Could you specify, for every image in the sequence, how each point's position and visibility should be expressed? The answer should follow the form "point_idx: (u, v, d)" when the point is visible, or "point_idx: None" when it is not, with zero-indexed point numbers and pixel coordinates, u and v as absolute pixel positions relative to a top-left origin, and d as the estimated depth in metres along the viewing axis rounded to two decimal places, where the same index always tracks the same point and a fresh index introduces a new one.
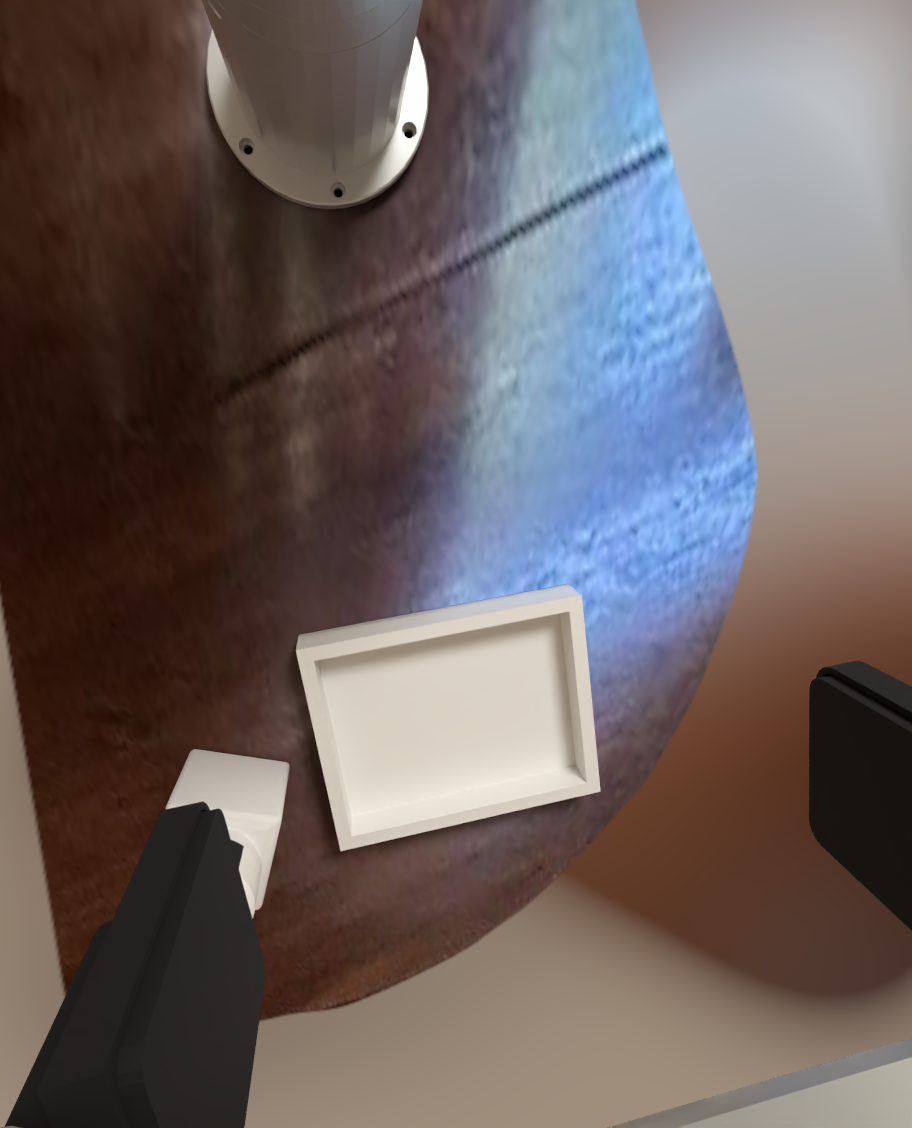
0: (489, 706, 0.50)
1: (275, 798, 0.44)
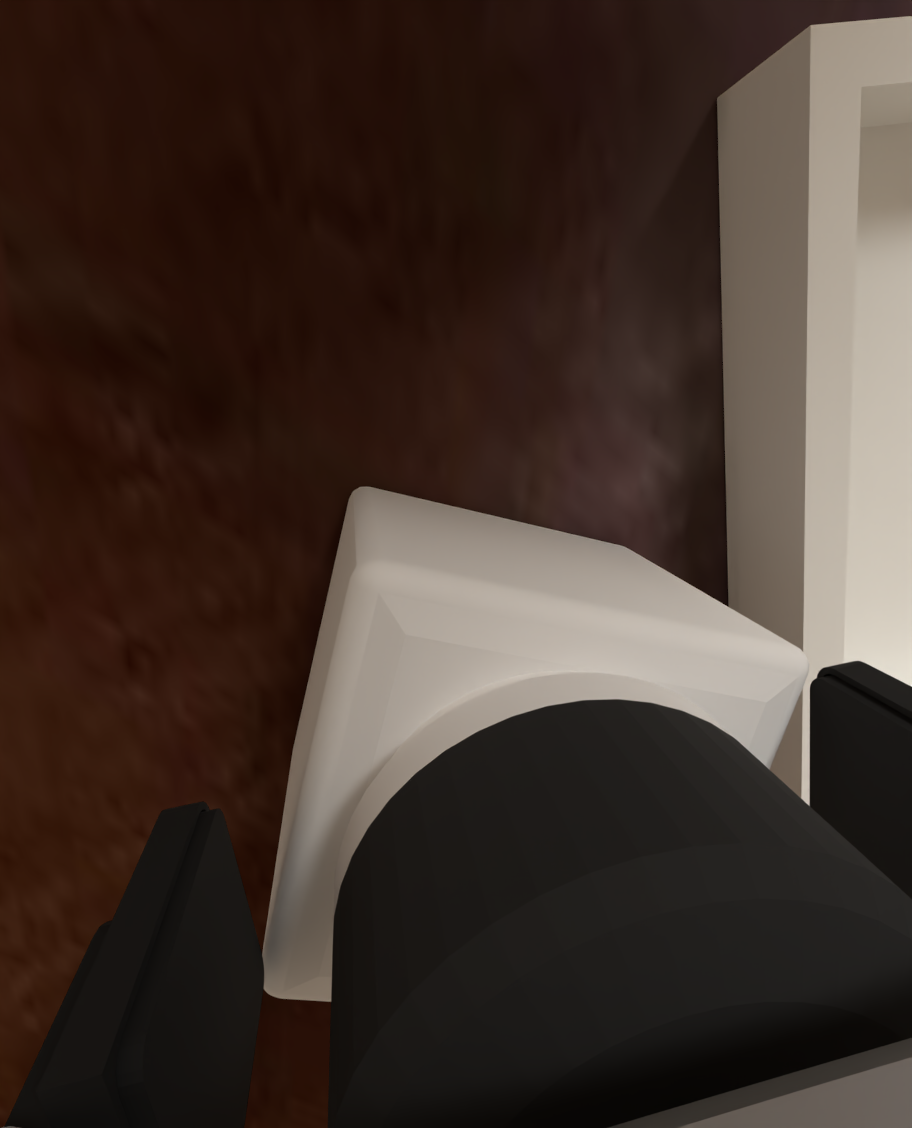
0: None
1: (713, 602, 0.12)
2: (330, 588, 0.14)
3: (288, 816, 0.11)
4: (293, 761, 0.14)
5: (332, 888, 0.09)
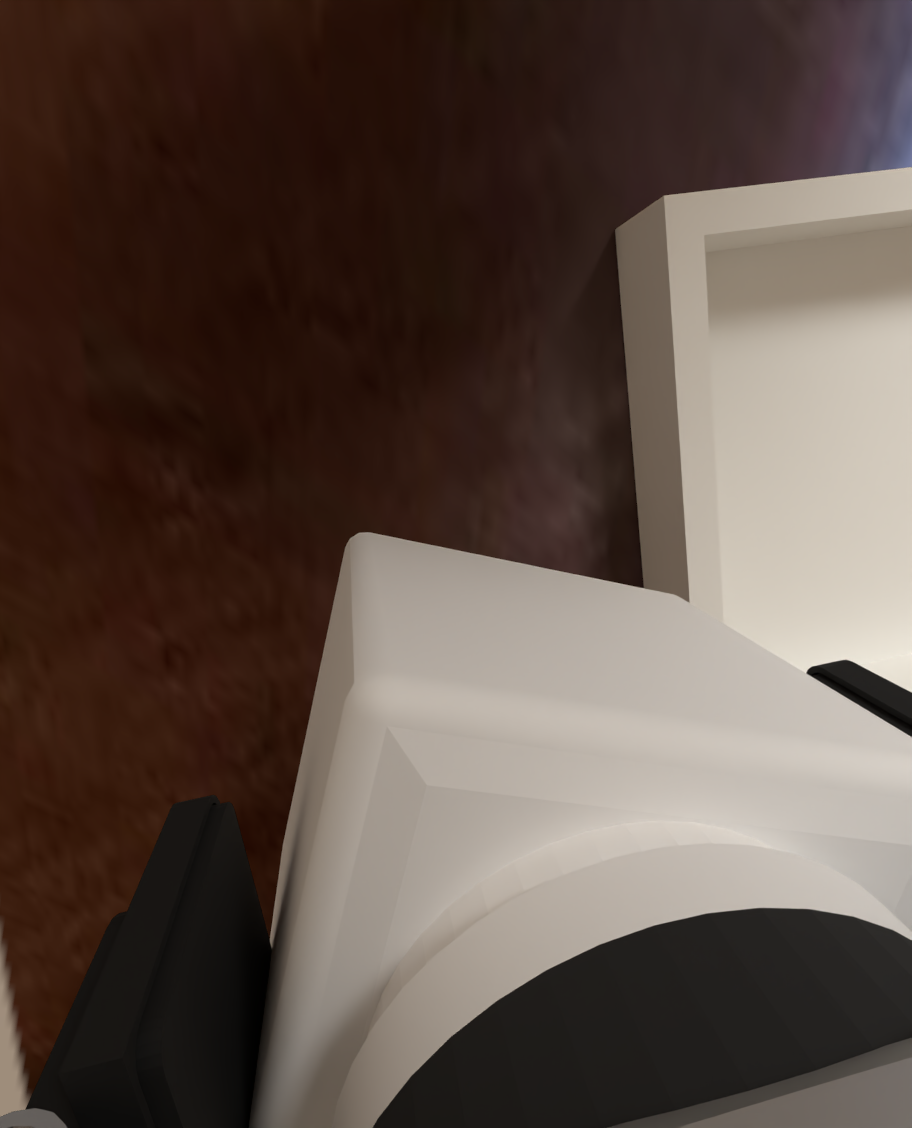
0: None
1: (816, 686, 0.09)
2: (324, 659, 0.12)
3: (271, 979, 0.09)
4: (281, 873, 0.12)
5: (327, 1124, 0.07)
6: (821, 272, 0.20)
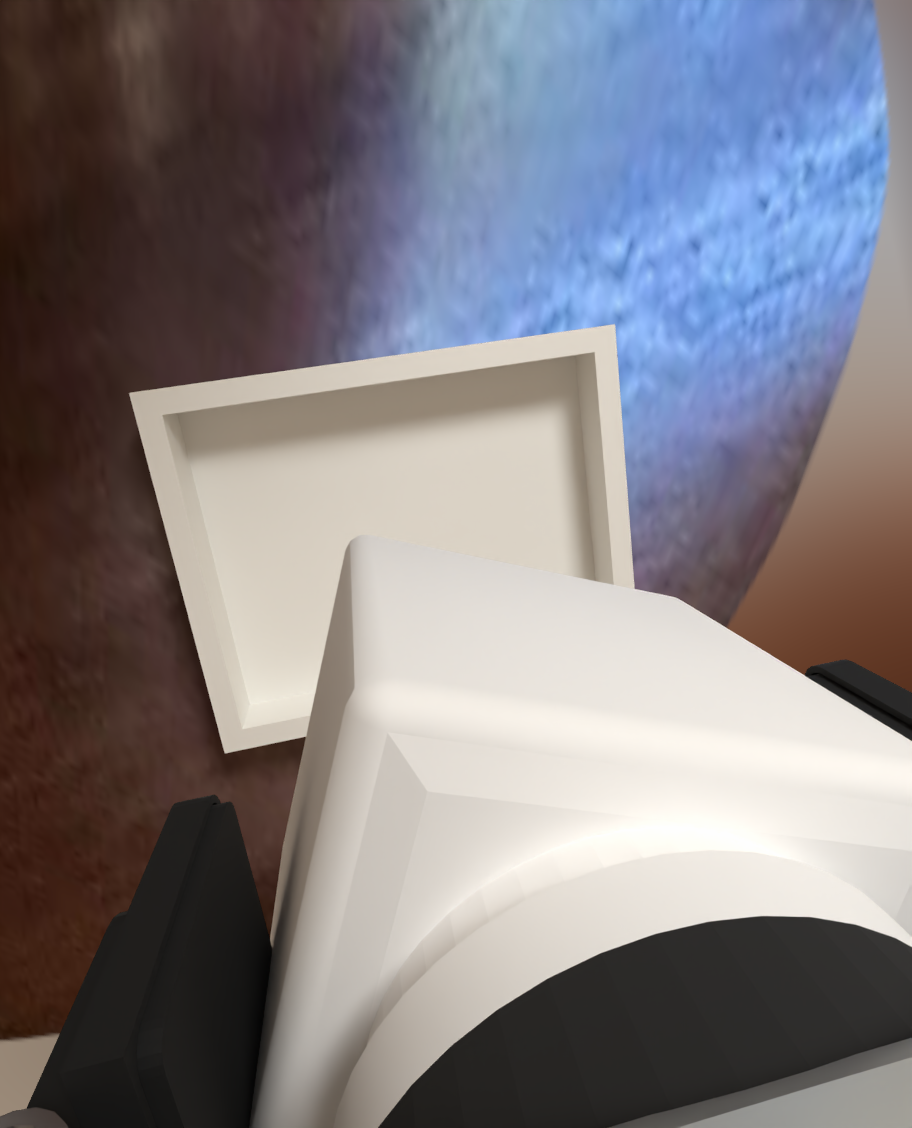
0: (466, 530, 0.32)
1: (817, 691, 0.09)
2: (324, 662, 0.12)
3: (270, 984, 0.09)
4: (281, 876, 0.12)
5: None
6: (302, 418, 0.29)
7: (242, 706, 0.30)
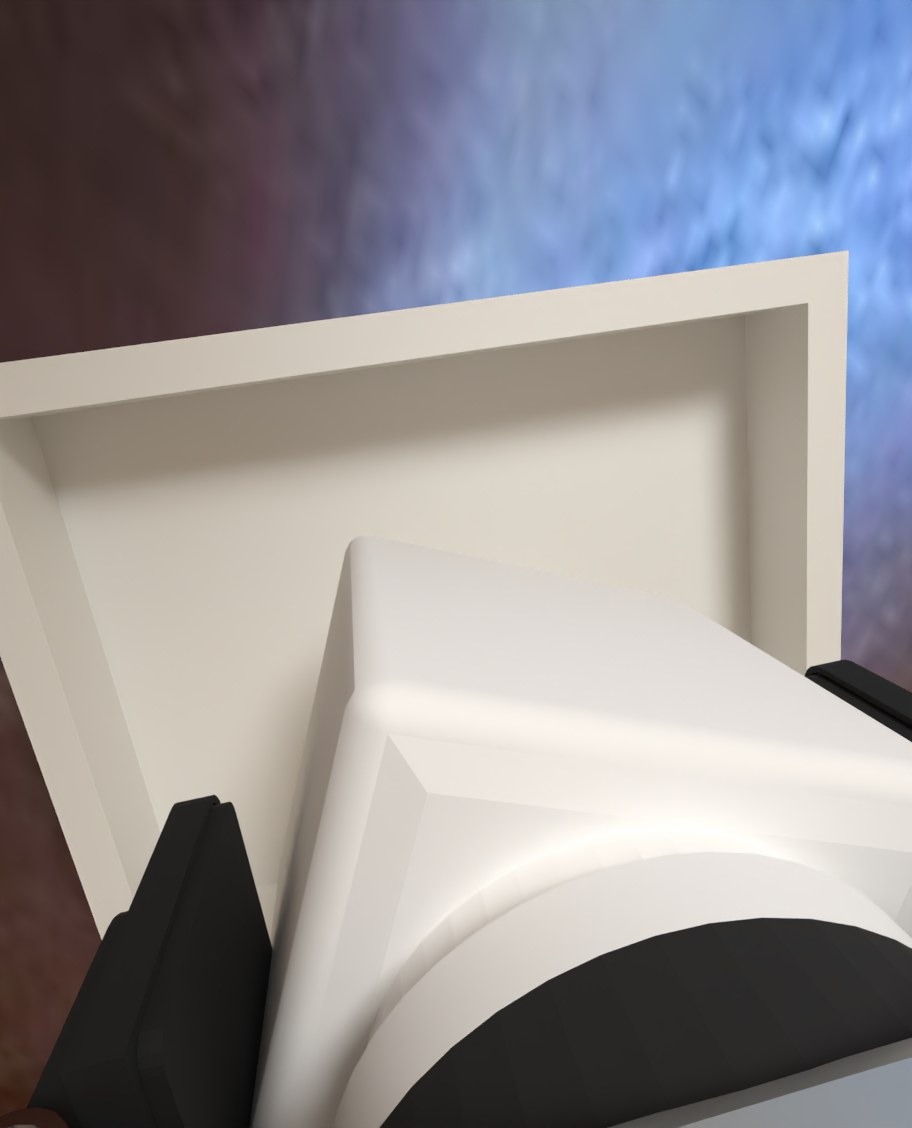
0: None
1: (817, 692, 0.09)
2: (324, 663, 0.12)
3: (270, 985, 0.09)
4: (281, 877, 0.12)
5: None
6: (264, 425, 0.16)
7: None
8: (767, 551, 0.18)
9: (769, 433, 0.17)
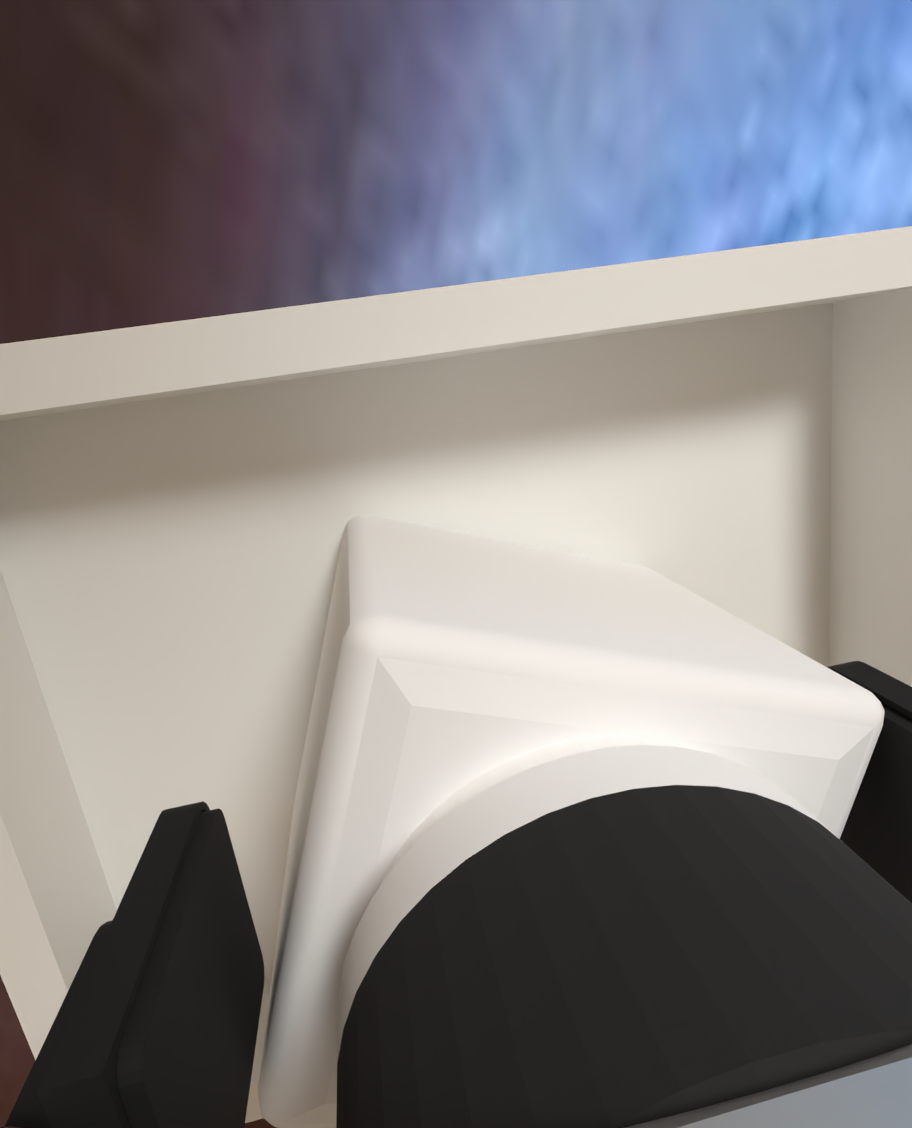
0: None
1: (760, 636, 0.10)
2: (326, 630, 0.13)
3: (286, 901, 0.10)
4: (293, 823, 0.13)
5: (337, 1002, 0.08)
6: (246, 437, 0.13)
7: None
8: (856, 588, 0.15)
9: (864, 446, 0.14)
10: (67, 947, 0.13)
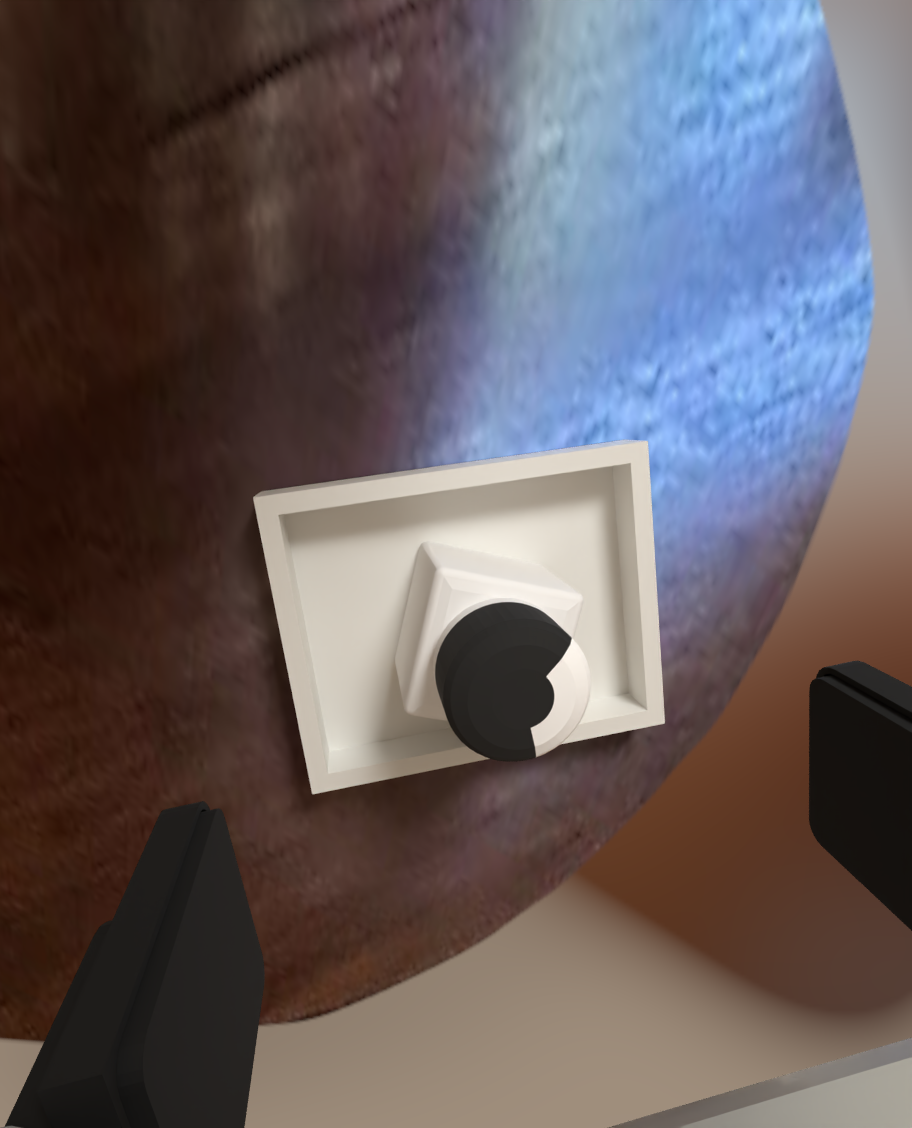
0: None
1: (560, 582, 0.32)
2: (413, 584, 0.35)
3: (407, 662, 0.32)
4: (400, 656, 0.34)
5: (429, 672, 0.30)
6: (384, 512, 0.35)
7: (326, 753, 0.36)
8: (626, 574, 0.37)
9: (623, 517, 0.36)
10: (315, 701, 0.34)
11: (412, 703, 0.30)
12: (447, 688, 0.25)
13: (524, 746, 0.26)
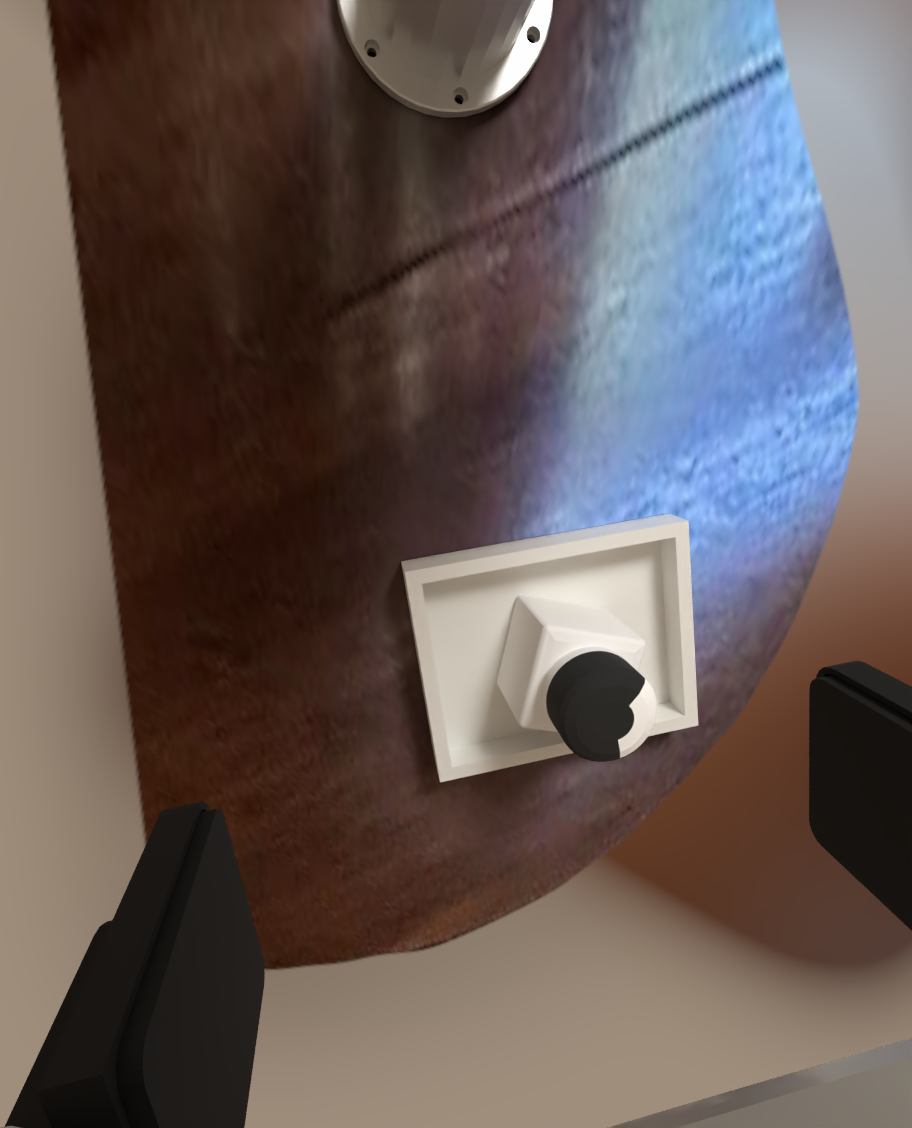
0: None
1: (626, 628, 0.44)
2: (514, 627, 0.47)
3: (517, 689, 0.44)
4: (504, 681, 0.47)
5: (538, 698, 0.42)
6: (491, 574, 0.47)
7: None
8: (669, 614, 0.49)
9: (667, 573, 0.48)
10: None
11: (525, 719, 0.42)
12: (562, 714, 0.38)
13: (613, 752, 0.38)
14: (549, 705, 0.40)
